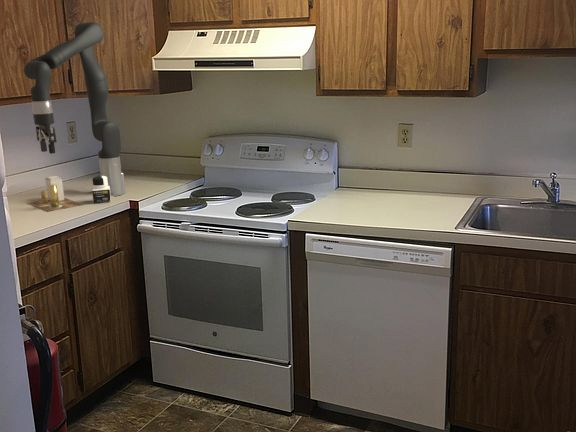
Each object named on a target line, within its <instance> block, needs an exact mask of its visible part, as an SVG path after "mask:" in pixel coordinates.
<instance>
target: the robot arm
mask: <svg viewBox="0 0 576 432" xmlns="http://www.w3.org/2000/svg"><path fill="white" fill-rule="evenodd" d="M73 33H74V34H73V35H74V37H73V38H70V39H69V40H67V41H64V42H61V43H59V44H57V45H56V46H54V47H52V48H51V49H50V50H48V51H47V52H45V53H44V54H42V55H40V56H37V57H34V58H33V59H31V60H29V61H28V62H26V63H25V65H24V67H23V74H24V75H25V77H26V78H28V79H30V80H34V81H35V83H34V86H31V88H30V96H31V108H32V115H33V123H34V125H35V133H36V140H37V141H38V142H39V144H40V152H43V153H45V152H49V154H55V153H56V147H55V144H56V143H57V137H56V129H55V127H52V126H51V125H52V124H54V123H55V119H54V111H53V104H52V99H51V93H50V88H51V87H50V86H51V77H52V70H56V69H57V68H59V67H61V66H62V65H63V64H65V63H67V61H69V60H70V59H71V58H73V57H75V56H76V55H78V54H79V58H80V61H81V66H82V71H83V76H84V83H85V88H86V94H87V97H88V98H87V99H88V103H89V110H90V119H91V130H92V135H93V138H94V139H95V140H96V141H98V142H101V145H102V146H101V150H99V151H98V152H97V156H98V162H99V163H98V165H99V171H100V172H99V173H100V176H106V177H107V181H108V186H110V195H111V197H117V196H122V195H124V194H126V184H125V175H124V172H122V164H121V157H120V156H121V155H120V154H121V150H122V149H121V148H122V147H121V144H122V143H121V132H120V128H119V125H118V124H117V123H116V122H115V121H114V122H113V121H109V120H108V118H107V117H108V116H107V109H106V108H107V107H106V106H107V101H108V97H109V85H108V78H107V75H106V72H105V70H104V69H103V67H102V65H101V64H100V63H99V61H98V59H97V57H96V54H95V49H94V46H96V45H97V44H100V43H101V42H102V41H103V39H104V35H105V32H104V28H103V26H102V25H101V24H99V23H98V22H93V21H92V22H91V21H89V22H80V23H77V24H76V26H75V28H74V32H73Z"/></svg>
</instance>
